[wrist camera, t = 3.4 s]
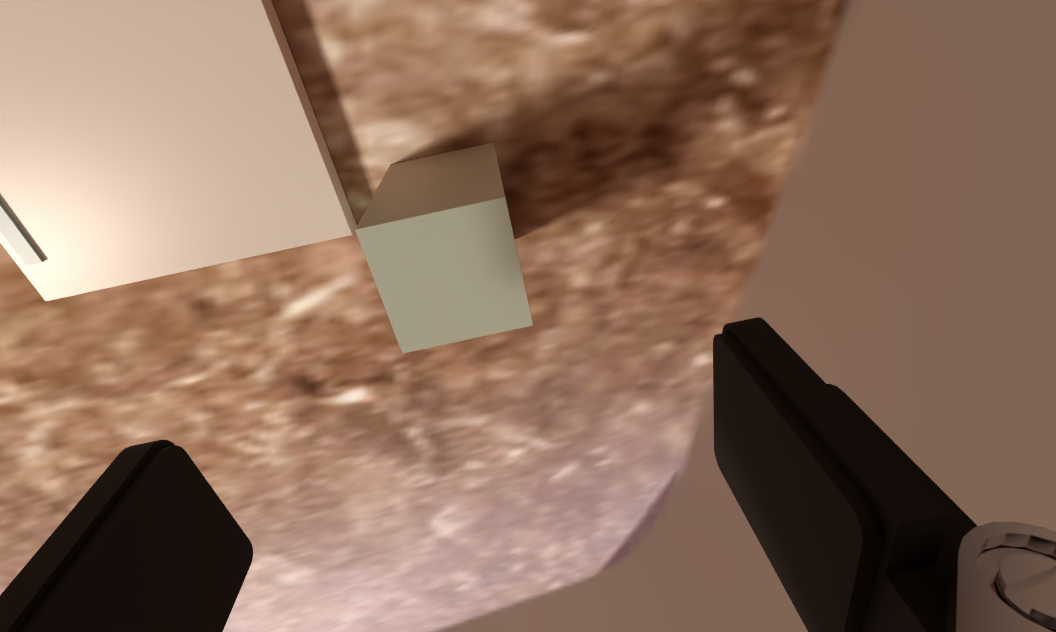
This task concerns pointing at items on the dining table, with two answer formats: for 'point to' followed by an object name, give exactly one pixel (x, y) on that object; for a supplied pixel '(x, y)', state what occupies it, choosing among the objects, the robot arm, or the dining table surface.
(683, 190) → the dining table surface
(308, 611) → the dining table surface
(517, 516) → the dining table surface
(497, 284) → the brick
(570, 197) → the dining table surface
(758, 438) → the robot arm
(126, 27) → the pad
